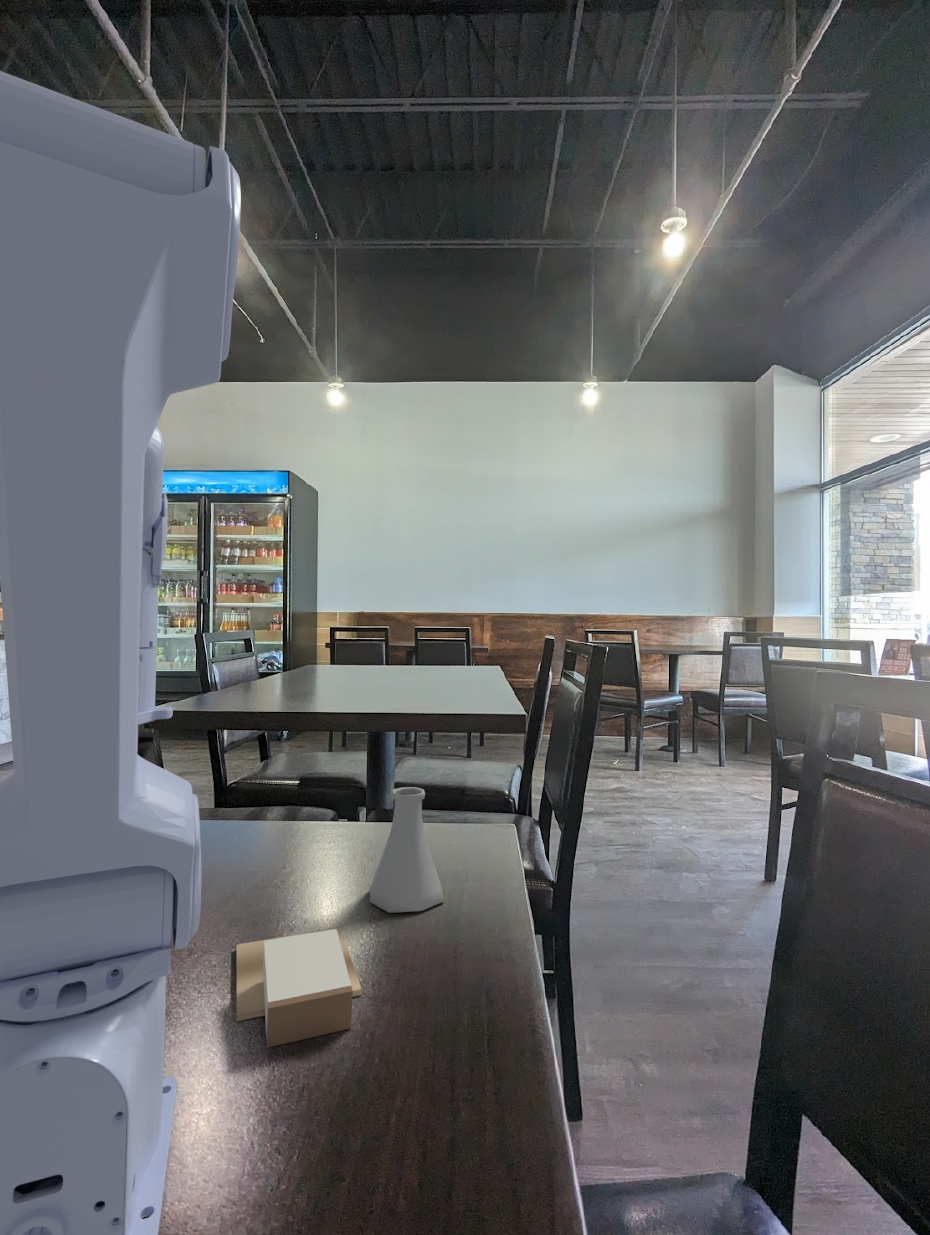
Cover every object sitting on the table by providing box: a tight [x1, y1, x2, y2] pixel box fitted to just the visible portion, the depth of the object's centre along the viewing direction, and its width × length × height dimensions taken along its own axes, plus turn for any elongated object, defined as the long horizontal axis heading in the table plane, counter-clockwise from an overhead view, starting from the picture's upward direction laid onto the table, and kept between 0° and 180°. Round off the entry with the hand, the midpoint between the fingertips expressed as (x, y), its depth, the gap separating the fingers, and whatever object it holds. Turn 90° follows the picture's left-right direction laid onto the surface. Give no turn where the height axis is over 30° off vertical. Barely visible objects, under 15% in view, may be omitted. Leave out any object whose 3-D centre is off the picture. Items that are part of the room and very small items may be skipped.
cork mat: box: [235, 927, 363, 1022], centre depth 43 cm, size 9×8×1 cm
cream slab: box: [263, 928, 353, 1048], centre depth 39 cm, size 2×5×6 cm
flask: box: [369, 786, 445, 914], centre depth 55 cm, size 7×7×10 cm
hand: (104, 840), depth 41 cm, fingers closed
